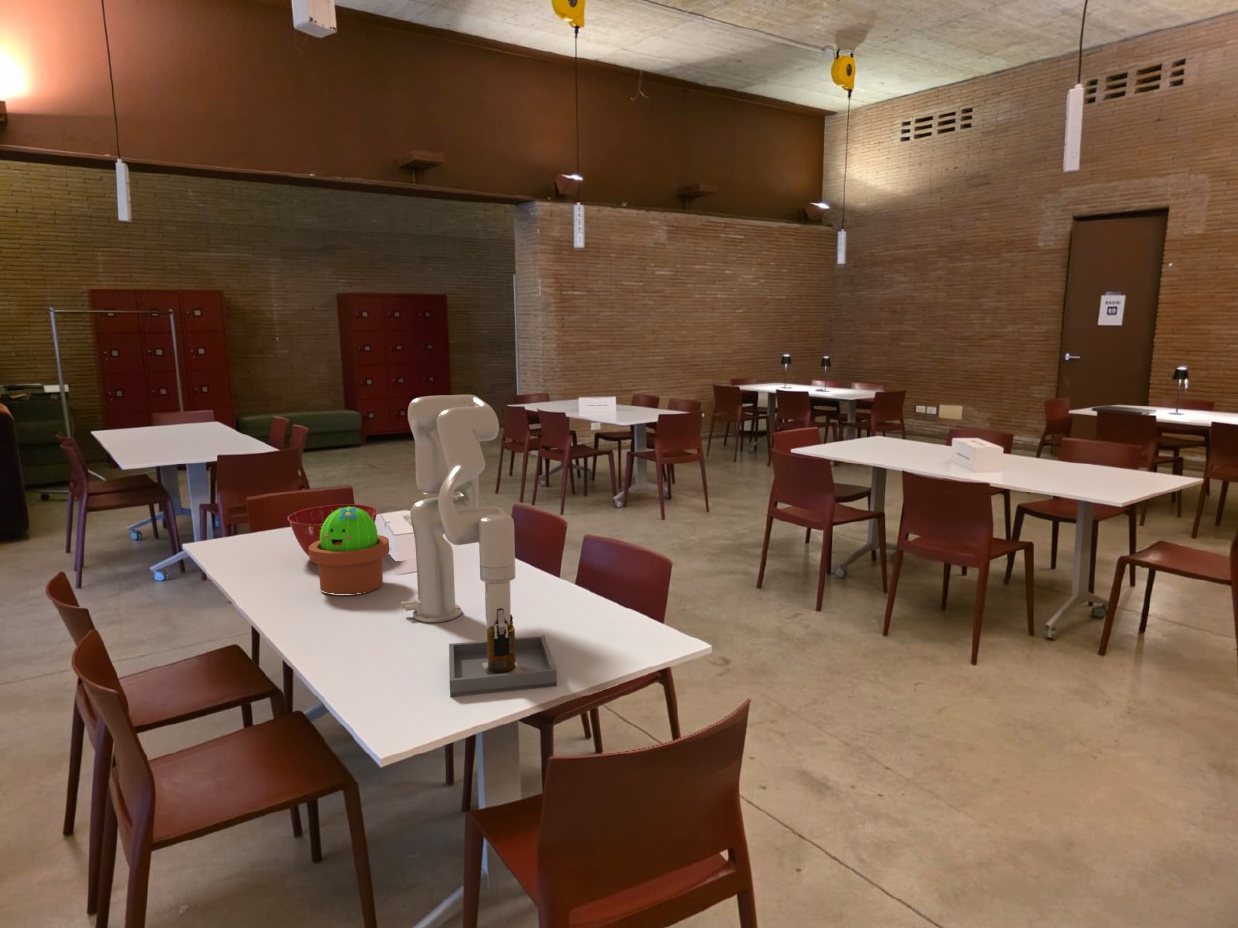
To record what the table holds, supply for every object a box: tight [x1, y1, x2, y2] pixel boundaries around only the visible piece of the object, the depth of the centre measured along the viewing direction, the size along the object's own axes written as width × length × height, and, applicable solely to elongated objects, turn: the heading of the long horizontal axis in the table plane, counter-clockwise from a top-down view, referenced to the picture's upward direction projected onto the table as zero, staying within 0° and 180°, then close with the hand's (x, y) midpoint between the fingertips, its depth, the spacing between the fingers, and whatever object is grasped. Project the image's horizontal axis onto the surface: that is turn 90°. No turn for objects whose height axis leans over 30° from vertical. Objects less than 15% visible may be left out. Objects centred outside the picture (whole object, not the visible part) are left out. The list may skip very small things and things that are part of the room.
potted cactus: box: [308, 506, 390, 594], centre depth 227 cm, size 22×22×25 cm
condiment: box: [482, 613, 522, 675], centre depth 168 cm, size 7×8×12 cm
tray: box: [448, 635, 558, 698], centre depth 169 cm, size 22×20×4 cm
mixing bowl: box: [287, 503, 379, 557], centre depth 259 cm, size 28×28×16 cm
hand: (500, 646), depth 169 cm, fingers open, 9 cm apart
